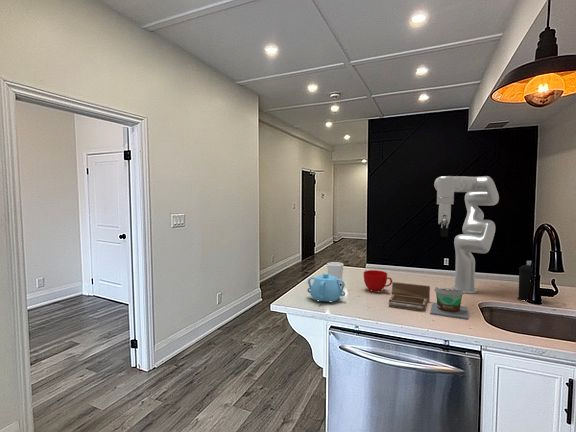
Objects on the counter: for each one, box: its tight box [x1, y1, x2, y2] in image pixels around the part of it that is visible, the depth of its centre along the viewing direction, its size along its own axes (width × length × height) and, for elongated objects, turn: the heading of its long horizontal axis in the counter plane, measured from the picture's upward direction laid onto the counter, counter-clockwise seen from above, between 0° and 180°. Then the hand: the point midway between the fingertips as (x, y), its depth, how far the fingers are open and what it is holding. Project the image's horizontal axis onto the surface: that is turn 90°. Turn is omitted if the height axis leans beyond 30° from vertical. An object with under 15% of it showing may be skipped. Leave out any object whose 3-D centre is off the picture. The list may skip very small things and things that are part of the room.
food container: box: [434, 286, 465, 312], centre depth 147 cm, size 12×6×10 cm, turn 72°
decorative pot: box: [306, 272, 346, 302], centre depth 167 cm, size 16×16×14 cm
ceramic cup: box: [363, 269, 393, 292], centre depth 181 cm, size 13×17×10 cm
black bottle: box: [517, 260, 532, 301], centre depth 163 cm, size 8×8×20 cm
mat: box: [429, 301, 469, 321], centre depth 149 cm, size 16×15×1 cm
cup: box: [326, 261, 344, 285], centre depth 195 cm, size 10×10×13 cm
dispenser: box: [388, 281, 431, 312], centre depth 159 cm, size 17×18×8 cm
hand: (444, 235), depth 161 cm, fingers open, 9 cm apart
